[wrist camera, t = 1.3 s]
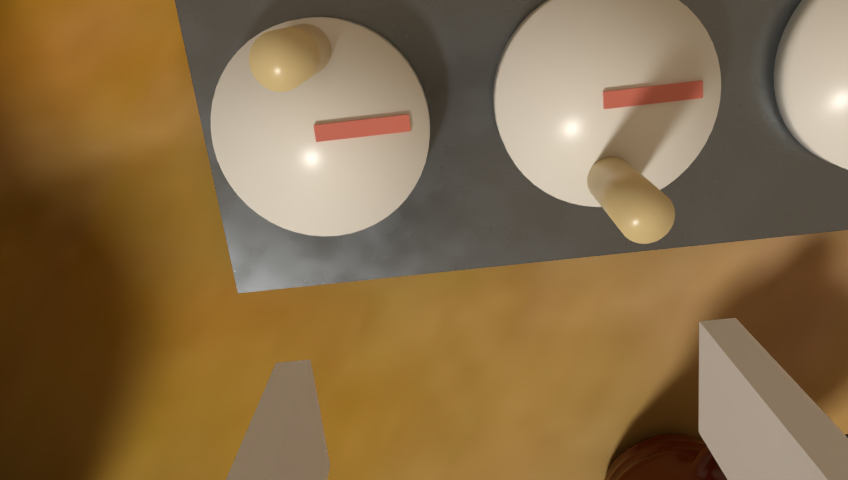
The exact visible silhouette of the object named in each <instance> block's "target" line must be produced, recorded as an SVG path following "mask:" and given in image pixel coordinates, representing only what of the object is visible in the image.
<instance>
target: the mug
mask: <svg viewBox="0 0 848 480" xmlns="http://www.w3.org/2000/svg"><path fill="white" fill-rule="evenodd" d="M604 480H727V478H726V476H725V475H724V473H723V471H722V470H721V468H720V467H719V465H718V463H717V462H716V460H715V458H714V457H713V455H712V453H711V452H710V450H709V448H708V447H707V445H706V443H705V442H704V441H703V440H701V439H698V438H695V437H692V436H687V435H680V434H662V435H658V436H654V437H651V438H648V439H645V440H643V441H640V442H638V443H636V444H635V445H633V446H631V447H630V448H628V449H627V450H625V451H624V452H623V453H622V454H621V455H620V456H619V457H618V458H617V459H616V460H615V461H614V462H613V464H612V465H611V467H610V468H609V470H608V472H607V474H606V476H605V479H604Z"/></svg>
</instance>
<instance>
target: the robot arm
mask: <svg viewBox="0 0 848 480" xmlns="http://www.w3.org/2000/svg"><path fill="white" fill-rule="evenodd" d="M699 433H700V435H701V437H702V438H703V440H704V442H705V443H706V445H707V447H708V448H709V450H710V452H711V453H712V455H713V457H714V458H715V460H716V462H717V463H718V465H719V467H720V468H721V470H722V471H723V473H724V475H725V476H726V478H727V480H848V434H844V433H843V432H842V431H841V430H840V429H839V428H838V427H837V426H836V425H835V424H834V423H833V422H832V420H831V419H830V418H829V417H828V416H827V415H826V414H825V413H824V412H823V411H822V410H821V409H820V408H819V407H818V405H817V404H816V403H815V402H814V401H813V400H812V399H811V398H810V397H809V396H808V395H807V394H806V393H805V392H804V390H803V389H802V388H801V387H800V386H799V385H798V384H797V383H796V382H795V381H794V380H793V379H792V378H791V377H790V375H789V374H788V373H787V372H786V371H785V370H784V369H783V368H782V367H781V366H780V365H779V364H778V363H777V362H776V360H775V359H774V358H773V357H772V356H771V355H770V354H769V353H768V352H767V351H766V350H765V349H764V348H763V347H762V345H761V344H760V343H759V342H758V341H757V340H756V339H755V338H754V337H753V336H752V335H751V334H750V333H749V332H748V330H747V329H746V328H745V327H744V326H743V325H742V324H741V323H740V322H739V321H738V320H737V319H736V318H728V319H718V320H707V321H699ZM329 468H330V462H329V457H328V452H327V446H326V441H325V436H324V430H323V425H322V419H321V414H320V409H319V403H318V398H317V393H316V387H315V382H314V376H313V371H312V366H311V360H301V361H291V362H281V363H276V364H275V367H274V369H273V371H272V374H271V376H270V378H269V381H268V383H267V385H266V388H265V390H264V392H263V395H262V397H261V399H260V402H259V404H258V406H257V409H256V411H255V413H254V416H253V418H252V420H251V423H250V425H249V427H248V430H247V432H246V434H245V437H244V439H243V441H242V444H241V446H240V448H239V451H238V453H237V455H236V458H235V460H234V462H233V465H232V467H231V470H230V472H229V474H228V477H227V479H226V480H327V477H328V473H329Z"/></svg>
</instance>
